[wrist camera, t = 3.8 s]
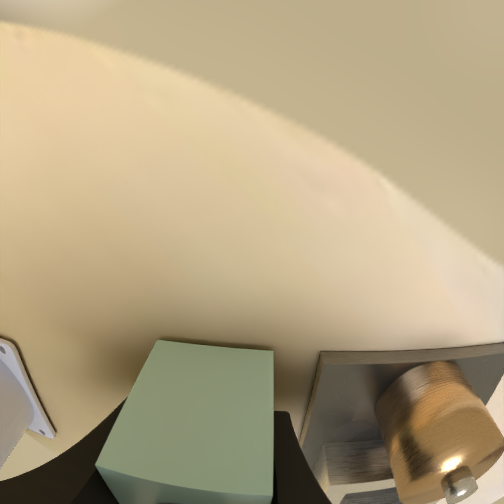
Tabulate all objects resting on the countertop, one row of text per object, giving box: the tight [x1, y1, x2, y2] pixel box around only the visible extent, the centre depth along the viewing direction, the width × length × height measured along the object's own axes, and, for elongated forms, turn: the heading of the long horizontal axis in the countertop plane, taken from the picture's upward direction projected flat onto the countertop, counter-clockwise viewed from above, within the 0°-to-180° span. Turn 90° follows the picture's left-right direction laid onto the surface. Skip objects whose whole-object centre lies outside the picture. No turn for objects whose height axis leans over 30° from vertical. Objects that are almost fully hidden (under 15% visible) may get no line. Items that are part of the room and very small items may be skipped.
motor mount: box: [299, 343, 504, 504], centre depth 11 cm, size 10×14×6 cm
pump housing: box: [95, 340, 274, 504], centre depth 9 cm, size 4×4×8 cm
